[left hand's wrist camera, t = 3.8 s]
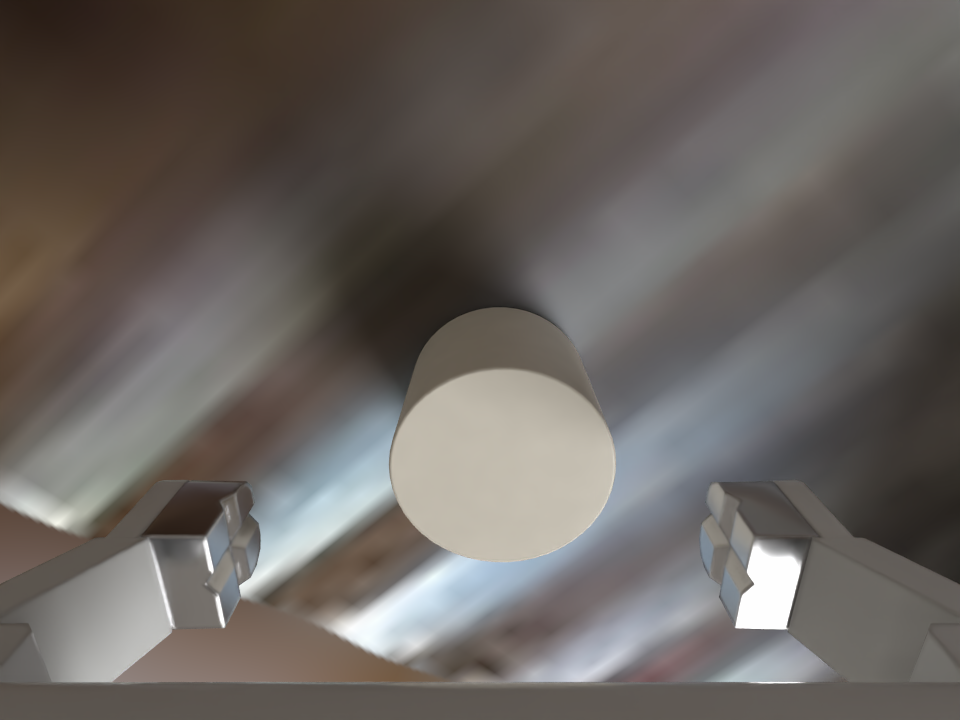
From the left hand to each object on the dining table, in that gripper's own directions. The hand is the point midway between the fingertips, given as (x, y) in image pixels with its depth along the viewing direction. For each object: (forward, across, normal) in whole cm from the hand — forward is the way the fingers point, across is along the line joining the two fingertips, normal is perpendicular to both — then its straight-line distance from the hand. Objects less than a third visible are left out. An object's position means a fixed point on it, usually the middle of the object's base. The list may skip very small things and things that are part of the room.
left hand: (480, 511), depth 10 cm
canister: (+6, 0, 0) cm, 6 cm away
